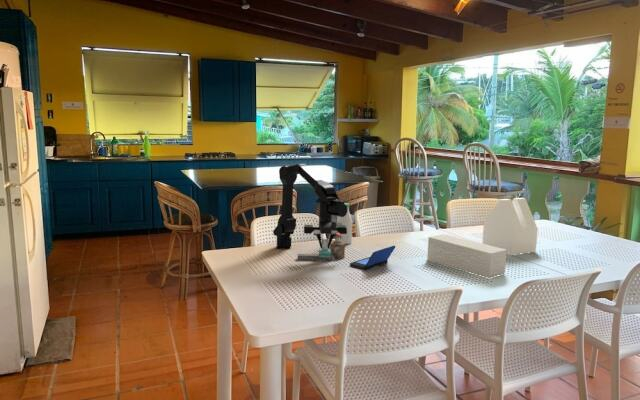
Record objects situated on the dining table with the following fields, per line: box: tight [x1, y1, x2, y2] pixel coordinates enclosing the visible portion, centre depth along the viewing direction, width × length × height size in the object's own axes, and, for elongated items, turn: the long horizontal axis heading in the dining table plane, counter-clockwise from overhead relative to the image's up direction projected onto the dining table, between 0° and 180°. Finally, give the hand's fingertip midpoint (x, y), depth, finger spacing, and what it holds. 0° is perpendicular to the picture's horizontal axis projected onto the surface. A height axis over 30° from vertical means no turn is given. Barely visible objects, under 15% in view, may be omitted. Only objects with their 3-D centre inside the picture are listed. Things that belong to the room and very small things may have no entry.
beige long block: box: [426, 233, 507, 279], centre depth 212 cm, size 32×11×11 cm, turn 37°
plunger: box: [334, 233, 341, 243], centre depth 226 cm, size 3×3×5 cm
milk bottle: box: [336, 202, 353, 245], centre depth 249 cm, size 8×8×20 cm
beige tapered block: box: [482, 197, 539, 256], centre depth 241 cm, size 19×15×25 cm
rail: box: [297, 253, 335, 261], centre depth 220 cm, size 16×3×2 cm, turn 92°
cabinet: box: [329, 239, 346, 259], centre depth 227 cm, size 6×8×6 cm
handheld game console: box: [349, 245, 396, 271], centre depth 211 cm, size 16×13×9 cm
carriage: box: [318, 237, 331, 257], centre depth 219 cm, size 5×5×8 cm
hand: (324, 248), depth 219 cm, fingers closed on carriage, 3 cm apart
